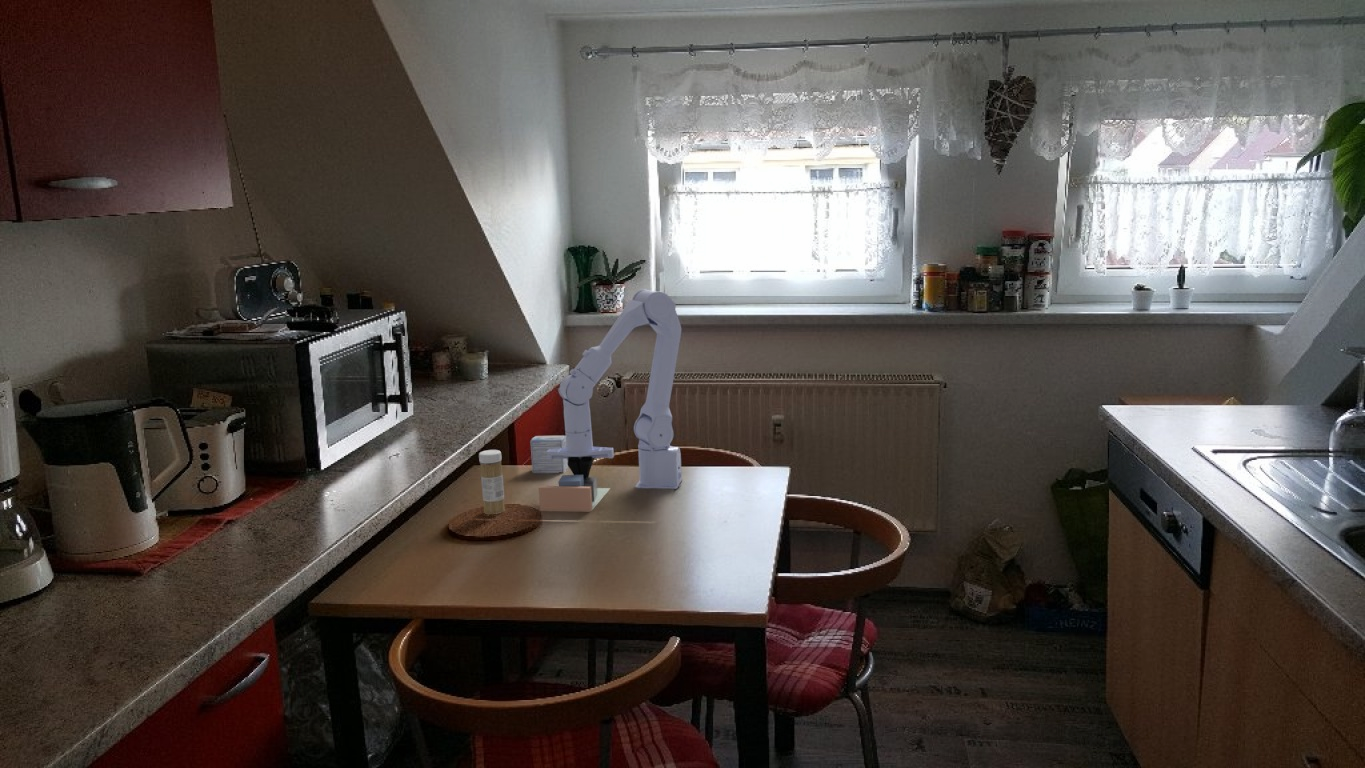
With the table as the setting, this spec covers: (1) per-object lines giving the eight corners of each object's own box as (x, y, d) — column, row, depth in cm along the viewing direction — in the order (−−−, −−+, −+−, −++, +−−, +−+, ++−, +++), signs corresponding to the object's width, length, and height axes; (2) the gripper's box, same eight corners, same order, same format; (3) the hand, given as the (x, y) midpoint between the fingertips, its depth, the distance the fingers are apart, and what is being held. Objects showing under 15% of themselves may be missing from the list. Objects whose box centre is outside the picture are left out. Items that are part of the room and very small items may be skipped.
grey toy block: (596, 477, 214) (593, 483, 209) (597, 494, 214) (594, 501, 209) (564, 478, 214) (560, 484, 209) (565, 495, 215) (562, 502, 210)
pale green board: (610, 489, 219) (609, 466, 218) (591, 513, 203) (589, 488, 202) (563, 489, 221) (561, 466, 220) (540, 512, 205) (538, 487, 204)
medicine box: (568, 469, 238) (566, 435, 237) (564, 474, 234) (562, 439, 232) (536, 470, 239) (534, 435, 237) (532, 475, 235) (529, 439, 233)
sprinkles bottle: (498, 509, 208) (494, 448, 205) (509, 513, 204) (505, 451, 202) (479, 514, 205) (474, 451, 203) (490, 518, 202) (485, 455, 199)
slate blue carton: (584, 501, 210) (583, 474, 209) (581, 508, 205) (579, 481, 204) (564, 502, 210) (562, 475, 209) (560, 509, 205) (558, 481, 204)
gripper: (614, 424, 216) (618, 483, 219) (550, 426, 218) (555, 484, 220) (608, 432, 209) (613, 493, 212) (542, 434, 211) (547, 494, 213)
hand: (583, 489), depth 216 cm, fingers closed, pressing on grey toy block
